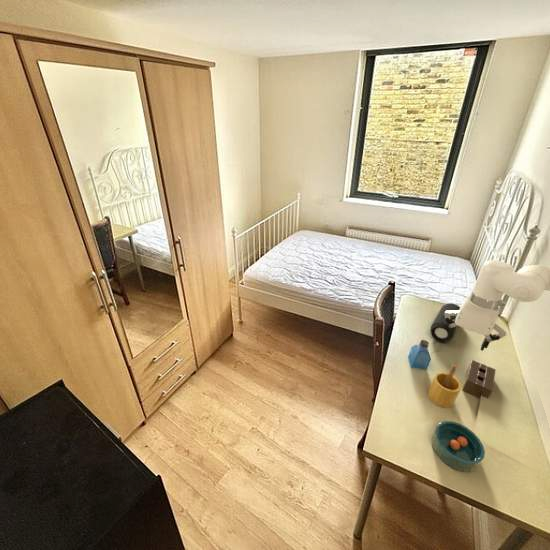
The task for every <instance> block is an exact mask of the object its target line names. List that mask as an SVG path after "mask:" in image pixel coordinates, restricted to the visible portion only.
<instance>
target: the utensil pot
mask: <svg viewBox="0 0 550 550" xmlns="http://www.w3.org/2000/svg"><path fill="white" fill-rule="evenodd" d="M448 374H449V372H448V373H447V372H443V371H442V372H441V371H440V372H437V373H435V374H434V377H433V378H432V381H431V384H430V387H429V389H428V391H427V397H428V398H429V400H430V402H432V403H433V404H434V405H436V406H438V407H440V408H443V409H450V408H452V407H453V406H454V404H455V402H456V400H457V398H458V396H459V394H460V392H461V390H462V388H463V386H462V383H461V382H460V380H459V379H458V378H457V377H456V376H454V375H453V377H452V379H451V381H450V383H449V386H448V388H445V387H443V386H444V383H445V381H446V379H447V377H448Z"/></svg>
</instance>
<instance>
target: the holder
mask: <svg viewBox="0 0 550 550" xmlns="http://www.w3.org/2000/svg"><path fill="white" fill-rule="evenodd" d="M496 371H497V370H496V368H493V367H490V366H488V365H486V364H483V363H480V362H479V361H476V360H474V359H472V360H471V362H470V364H469V366H468V368H467V370H466V375H465V377H464V380H463V381H464V382H463V386H462V388H461V390H462V391H463V392H465V393H466V394H469V395H471V396H473V397H475V398H477V399H480V400H481V399H482V397H483V398H486V399H489V398H490V396H491V395H492V392H493V389H494V384H495V377H496Z"/></svg>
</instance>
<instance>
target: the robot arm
mask: <svg viewBox="0 0 550 550" xmlns="http://www.w3.org/2000/svg"><path fill="white" fill-rule="evenodd" d="M545 291H550V265H548V264H545V265H544V264H531V265H526V266H524V267H521V268H520V269H518V270H517V271H515V269H514V267H513V266H512V265H511V264H509V263H508V262H505V261H501V260H496V259H495V260H494V259H490V260H487V261H485V262H484V263H482V266H481V268H480V271H479V273H478V276H477V278H476V281H475V283H474V286H473V288H472V290H471V293H470V295H467V296H466V297H465V298H464V300H463V302H462V303H461V305H460V306H459V307H460V309H459V311H445V313H444V316H445V319H446V322H447V323H448V325H449V329H448V332H447V334H449V336H448V338H450V337H451V335H452V332H453V330H454V327H456V326H457V327H461V328H463V329H465V330H468V331H471V332H473V333H477V334H480V335H483V336H484V338H483V341H482V343H481V346H480V350H481V351H482V352H483V351H484V350H485V349H488V347H489V345H490V343H492V342H494V341H499V340H500V339H503V338H504V337H506V336H507V332H506V330H505V329H503V328H502V327H501V326H499V325H498V324H497V320H498V317H499V314H500V310H501V307H505V306H506V305H507V302H506V301H504V300H503V296H504V295H506V296H508V297H510V298H511V299H514V300H516V301H519V302H521V303H522V302H523V303H531V302H534V301H537V300H539V299H540V298H541V296H542V295H543V293H544V292H545ZM450 316H456V319H455V320H453V321H452V319H451V318H450ZM493 330H494V331H496V333H495V334H492V332H493Z"/></svg>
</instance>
